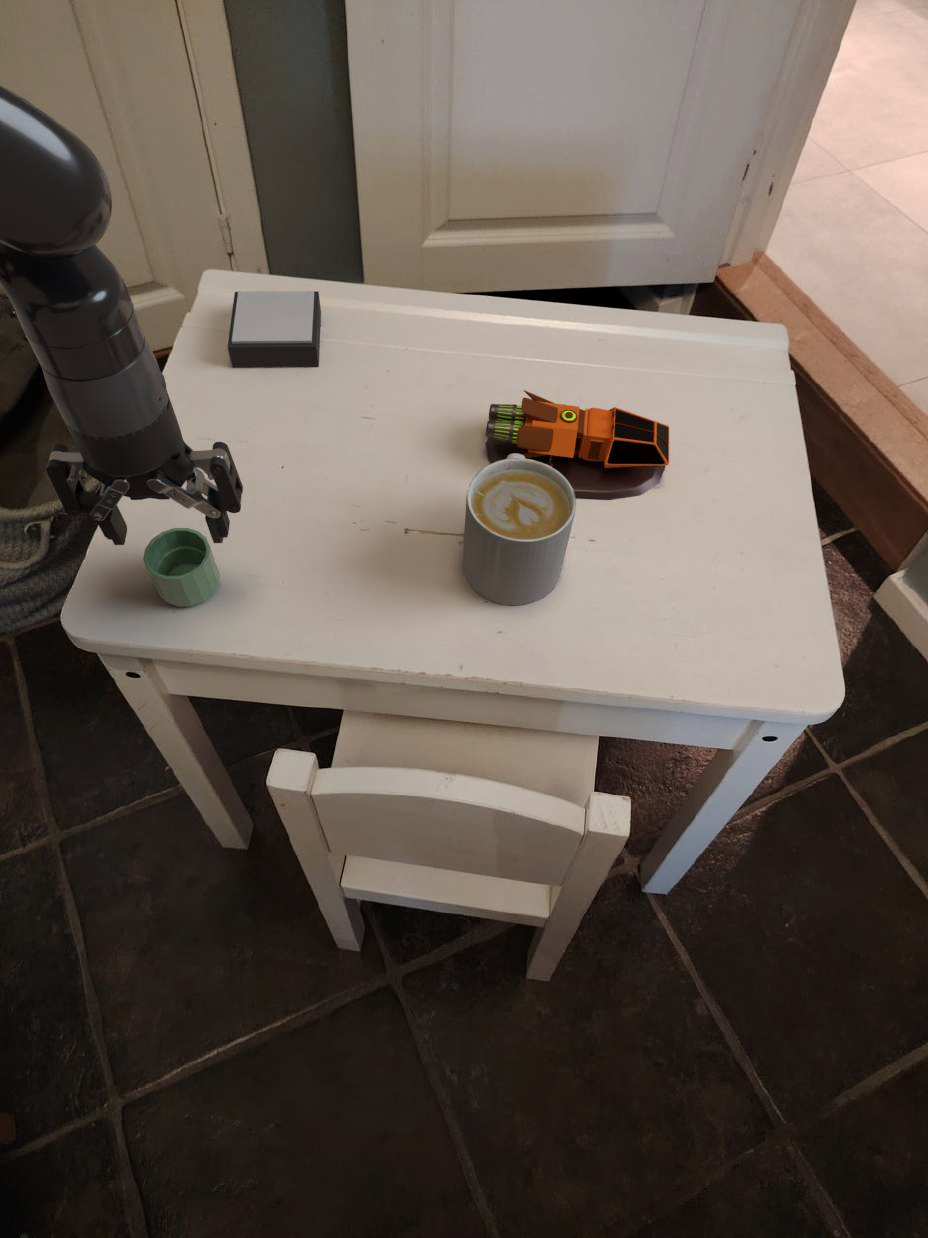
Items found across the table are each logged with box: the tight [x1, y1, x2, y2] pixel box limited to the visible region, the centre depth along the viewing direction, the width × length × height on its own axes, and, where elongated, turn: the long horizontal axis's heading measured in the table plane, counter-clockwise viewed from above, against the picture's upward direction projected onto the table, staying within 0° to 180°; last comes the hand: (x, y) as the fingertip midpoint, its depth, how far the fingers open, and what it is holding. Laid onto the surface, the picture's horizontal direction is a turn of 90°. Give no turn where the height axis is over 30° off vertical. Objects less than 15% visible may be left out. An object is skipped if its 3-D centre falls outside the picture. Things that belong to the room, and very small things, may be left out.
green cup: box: [142, 527, 221, 608], centre depth 79 cm, size 6×6×5 cm
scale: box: [227, 290, 322, 369], centre depth 99 cm, size 10×10×3 cm
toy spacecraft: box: [484, 389, 670, 500], centre depth 89 cm, size 12×20×6 cm, turn 82°
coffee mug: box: [461, 453, 577, 606], centre depth 80 cm, size 13×10×10 cm
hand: (171, 536), depth 74 cm, fingers open, 8 cm apart
